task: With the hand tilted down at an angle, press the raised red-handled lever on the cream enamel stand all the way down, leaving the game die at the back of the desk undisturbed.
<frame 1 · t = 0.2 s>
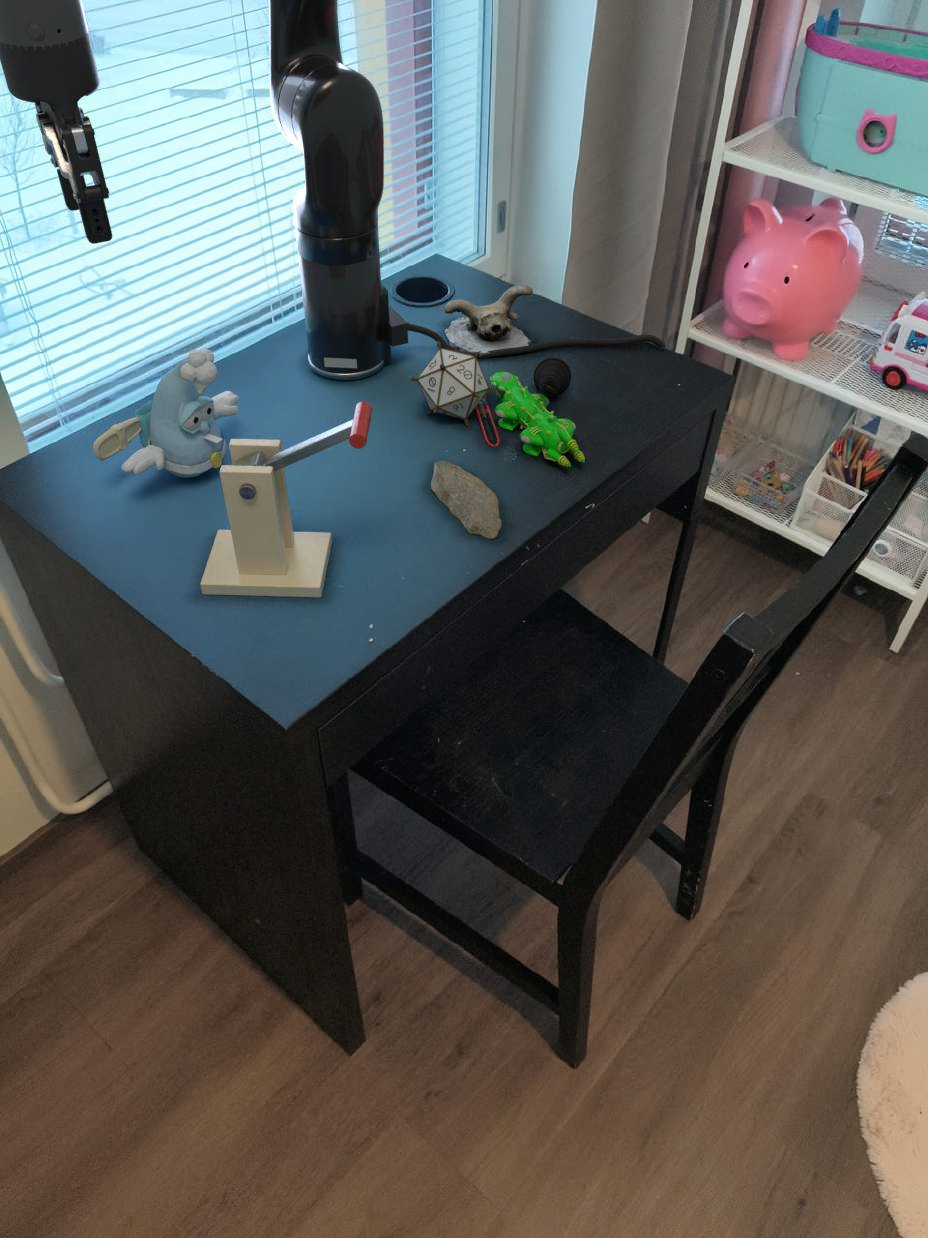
hand: (89, 223, 94), 24 cm above the table, tool pointing down, fingers open, 8 cm apart
game die: (452, 416, 114), on the table
red paper clip: (483, 407, 114), point 1 cm above the table
stone: (444, 499, 101), point 1 cm above the table
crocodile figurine: (533, 435, 111), on the table, touching chess piece
lever: (302, 450, 85), point 13 cm above the table, hinge at 28.0°
toy figure: (195, 472, 106), on the table
chess piece: (552, 376, 117), point 2 cm above the table, touching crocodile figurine
lever stand: (269, 567, 94), on the table
skull: (484, 340, 127), on the table
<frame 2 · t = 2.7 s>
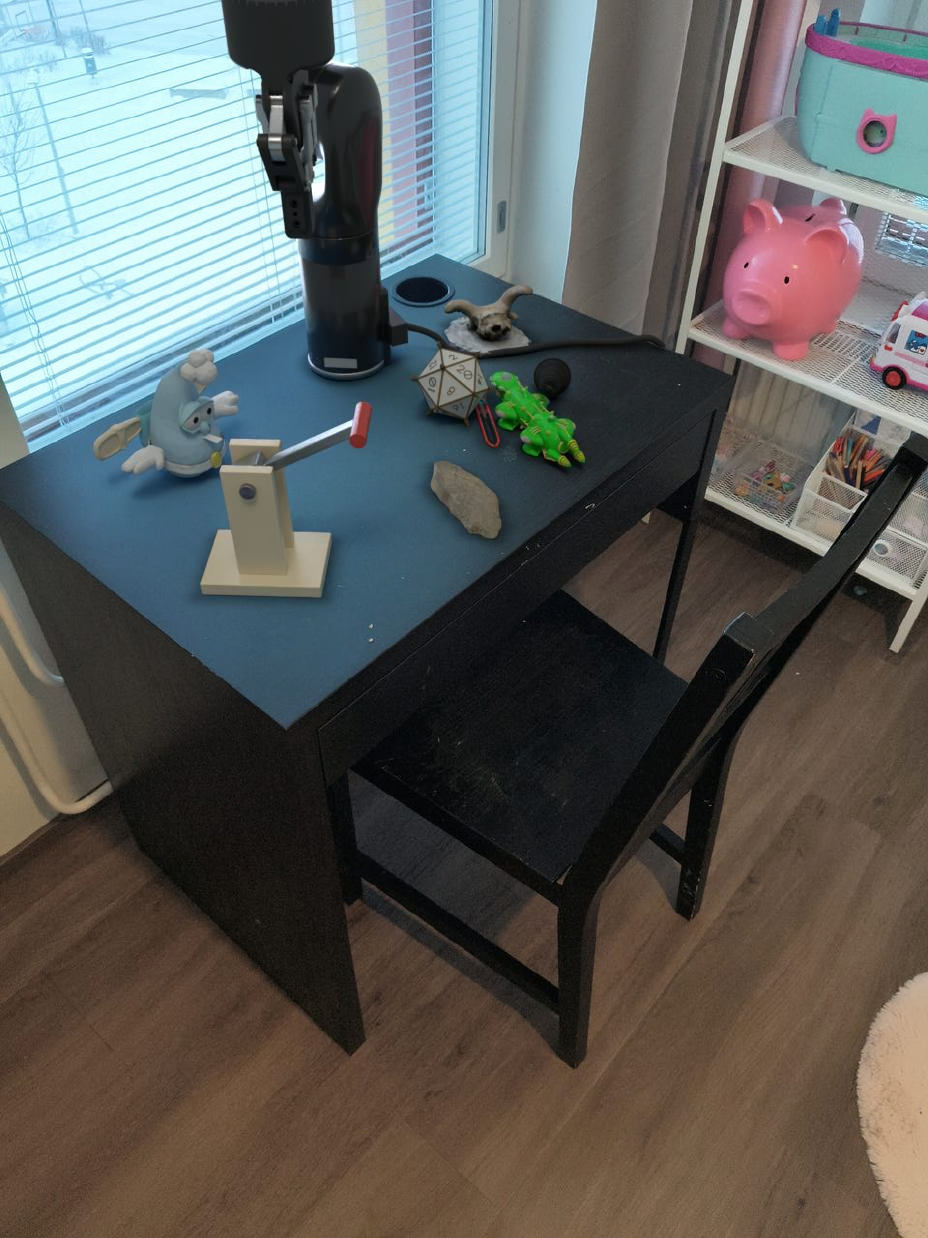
hand: (300, 234, 80), 29 cm above the table, tool pointing down, fingers closed
nothing on the table moved.
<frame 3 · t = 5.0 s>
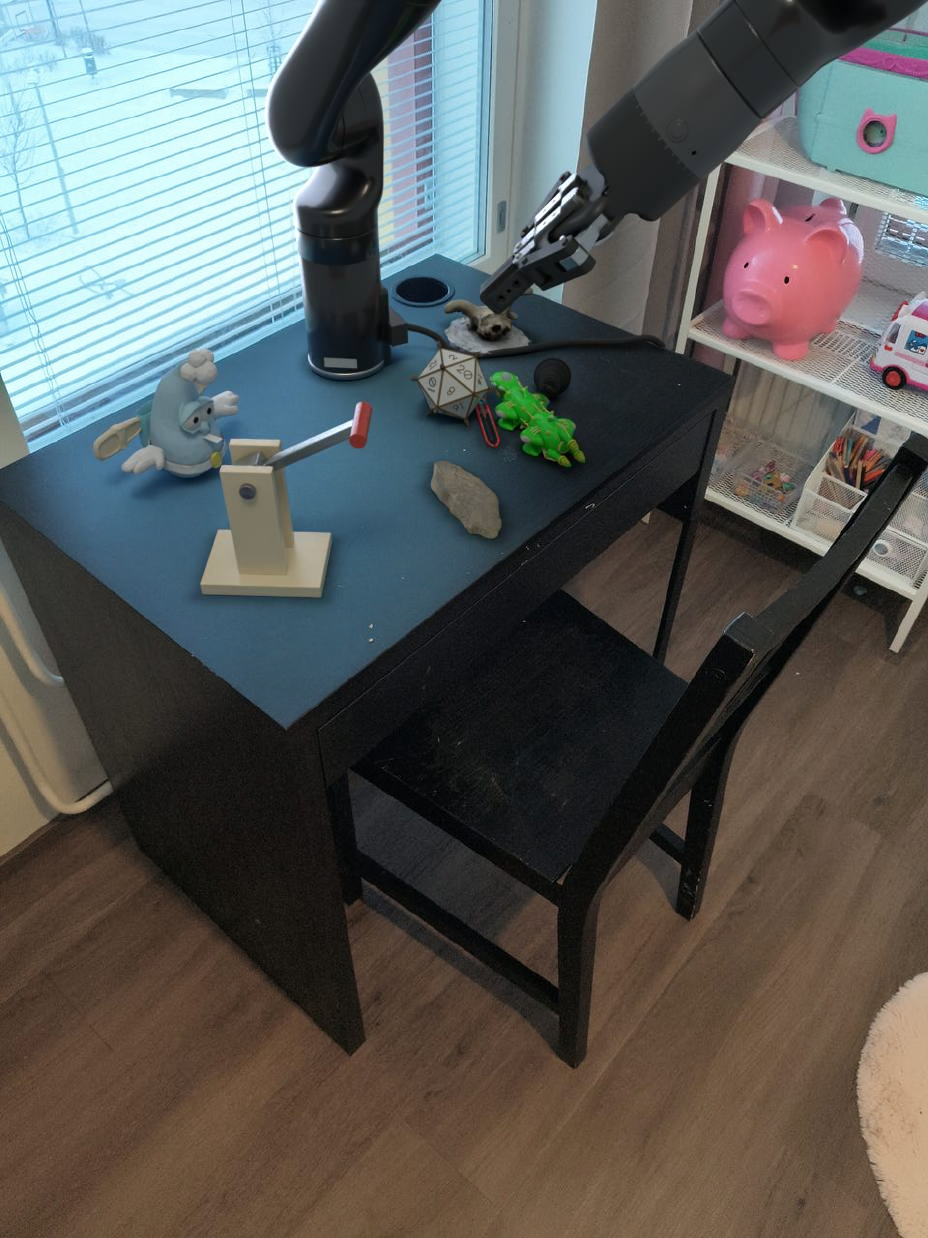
hand: (488, 301, 75), 28 cm above the table, tool tilted 45°, fingers closed
nothing on the table moved.
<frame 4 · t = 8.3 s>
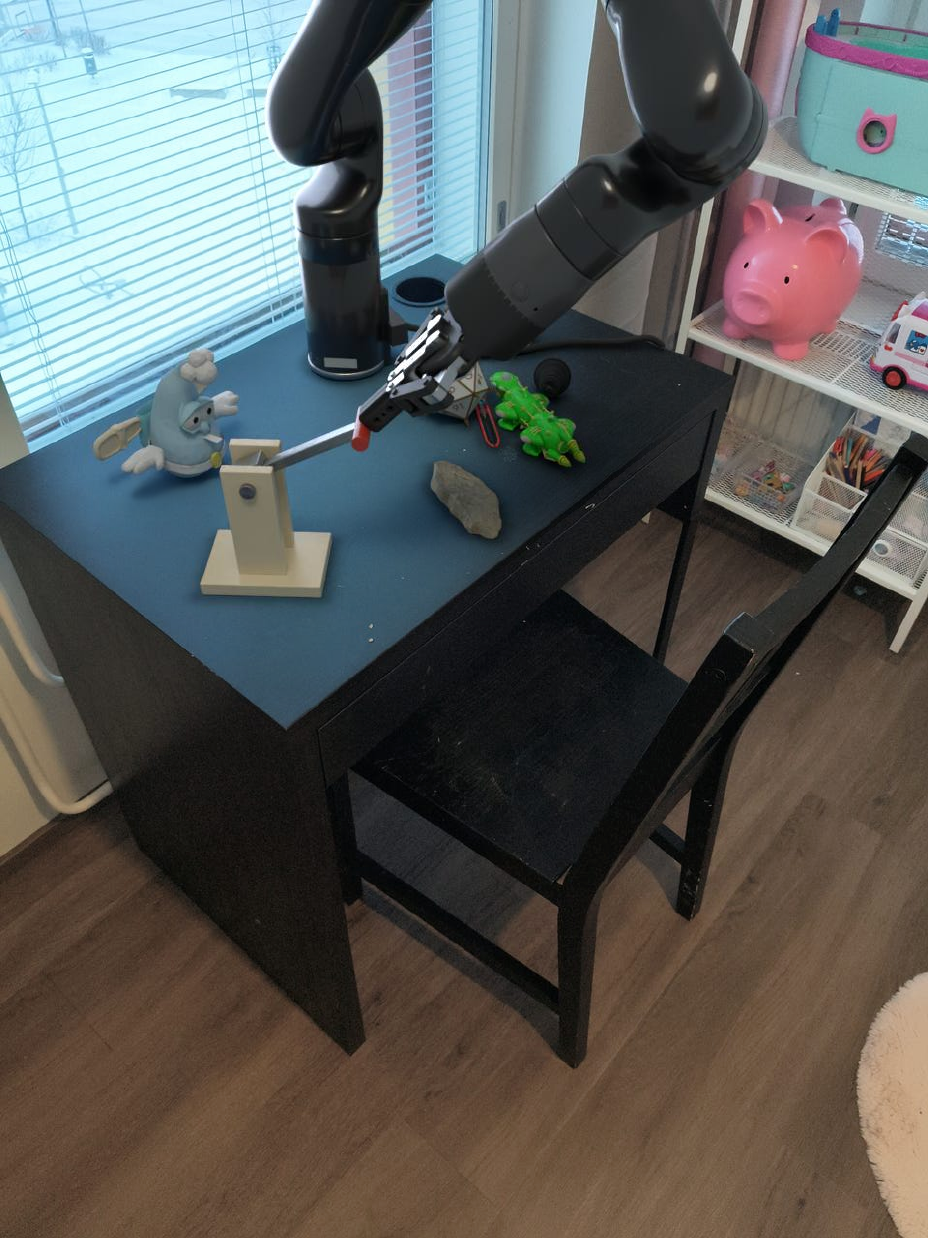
hand: (367, 421, 83), 17 cm above the table, tool tilted 45°, fingers closed
lever: (303, 451, 85), point 13 cm above the table, hinge at 26.3°, touching gripper
everything else where it was.
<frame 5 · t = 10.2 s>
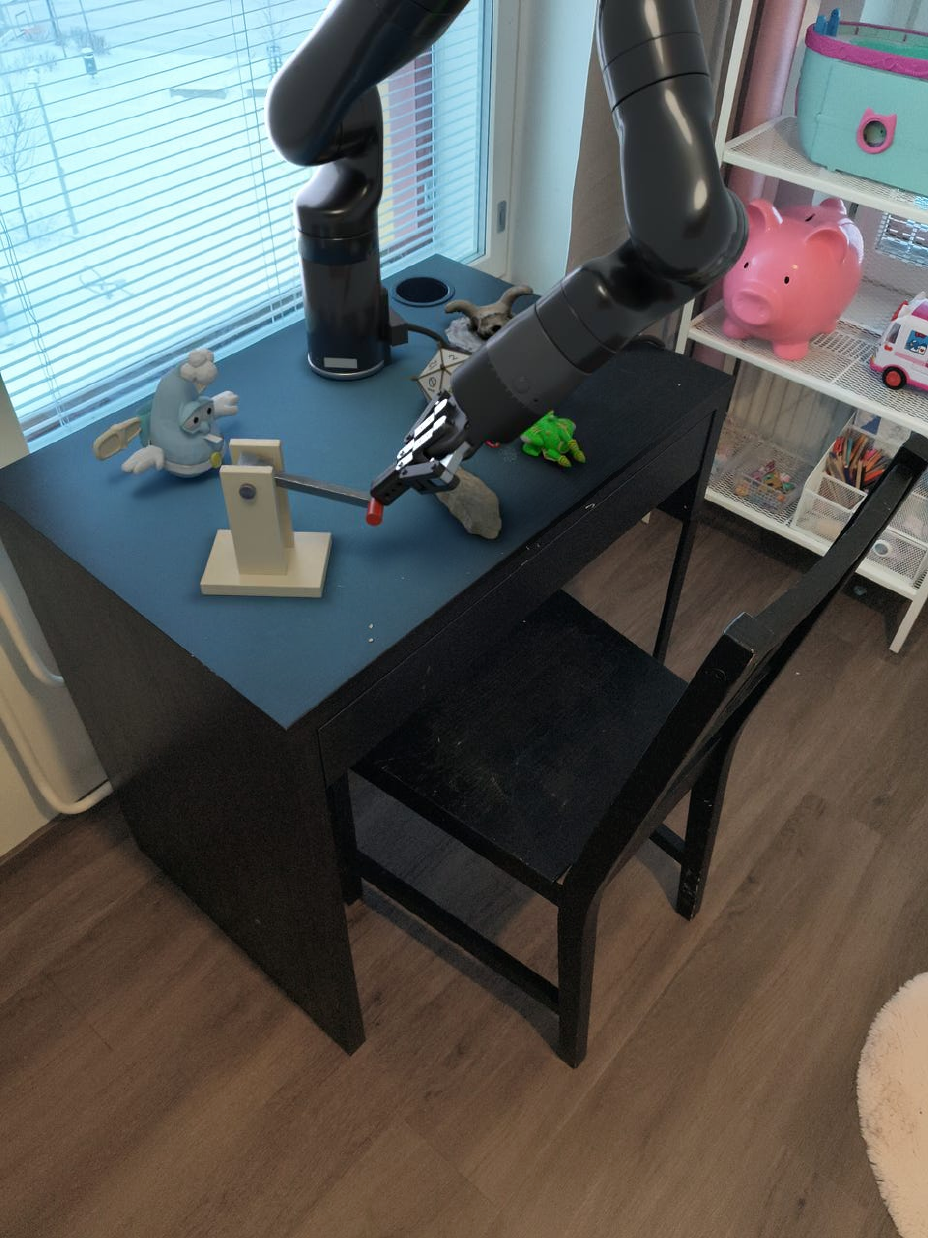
hand: (377, 495, 88), 9 cm above the table, tool tilted 45°, fingers closed
lever: (311, 486, 88), point 10 cm above the table, hinge at -15.4°, touching gripper
everything else where it was.
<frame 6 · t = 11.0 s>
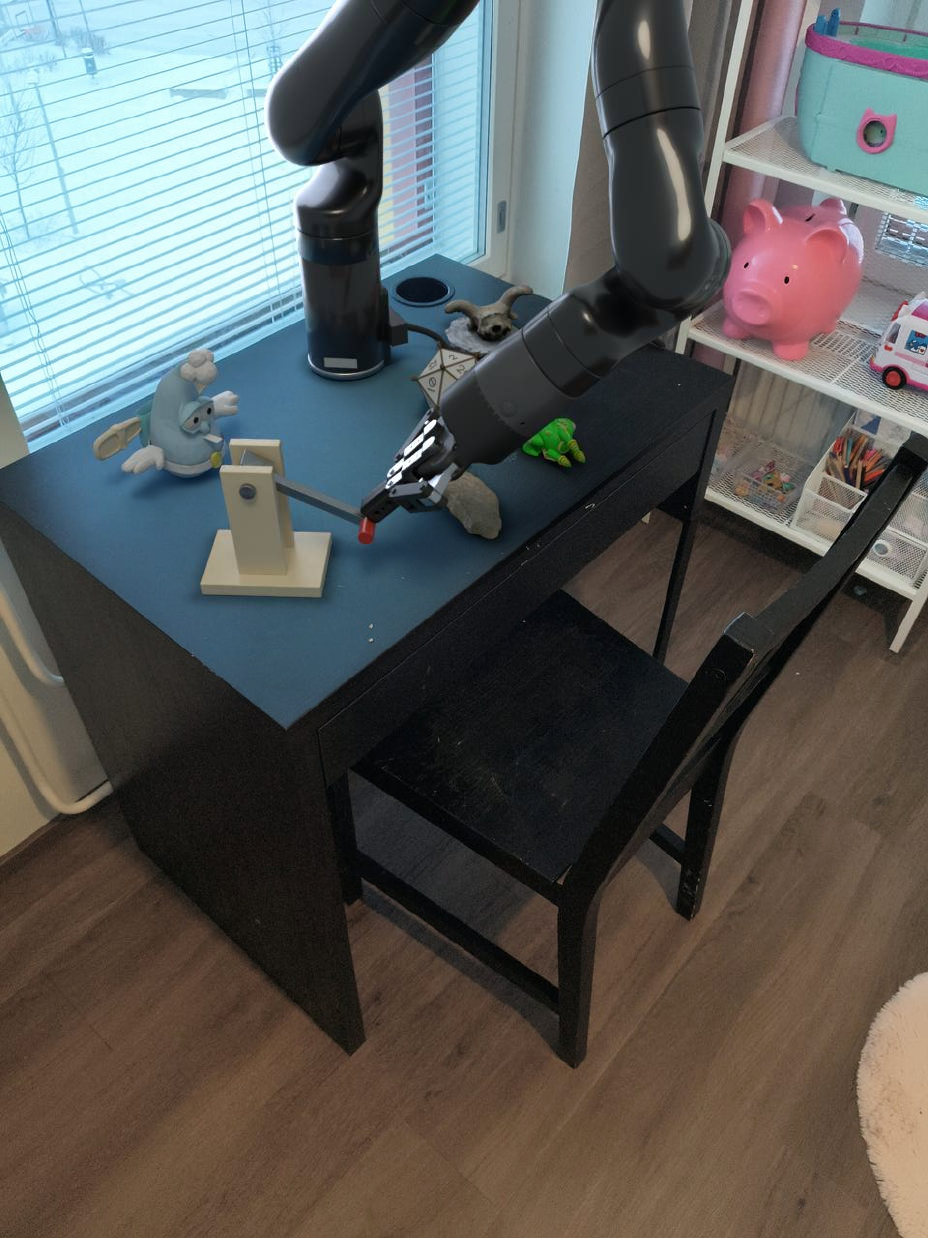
hand: (368, 512, 89), 7 cm above the table, tool tilted 45°, fingers closed
lever: (308, 495, 88), point 9 cm above the table, hinge at -27.3°, touching gripper
everything else where it was.
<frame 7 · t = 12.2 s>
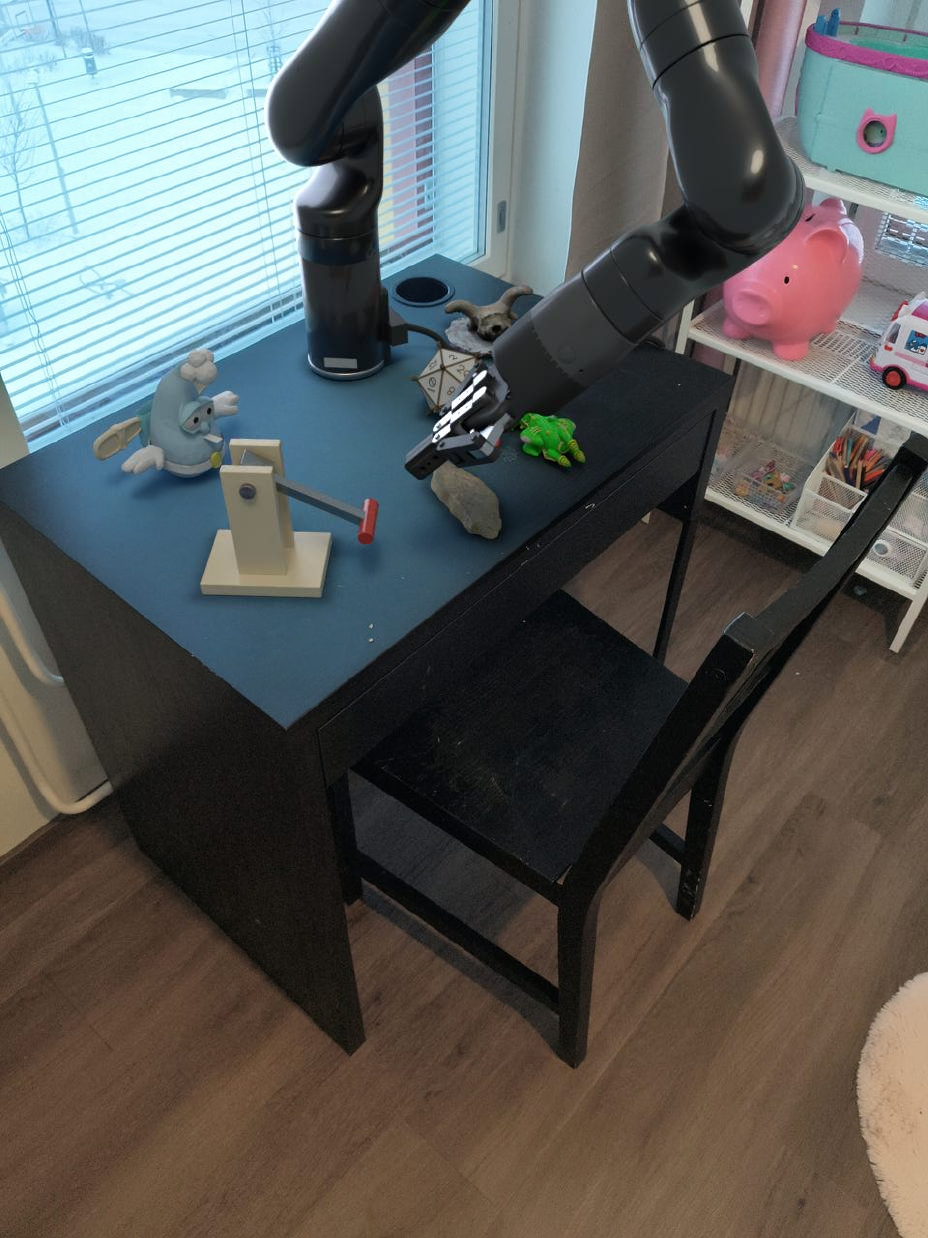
hand: (412, 469, 86), 12 cm above the table, tool tilted 45°, fingers closed
lever: (308, 495, 88), point 9 cm above the table, hinge at -27.4°
everything else where it was.
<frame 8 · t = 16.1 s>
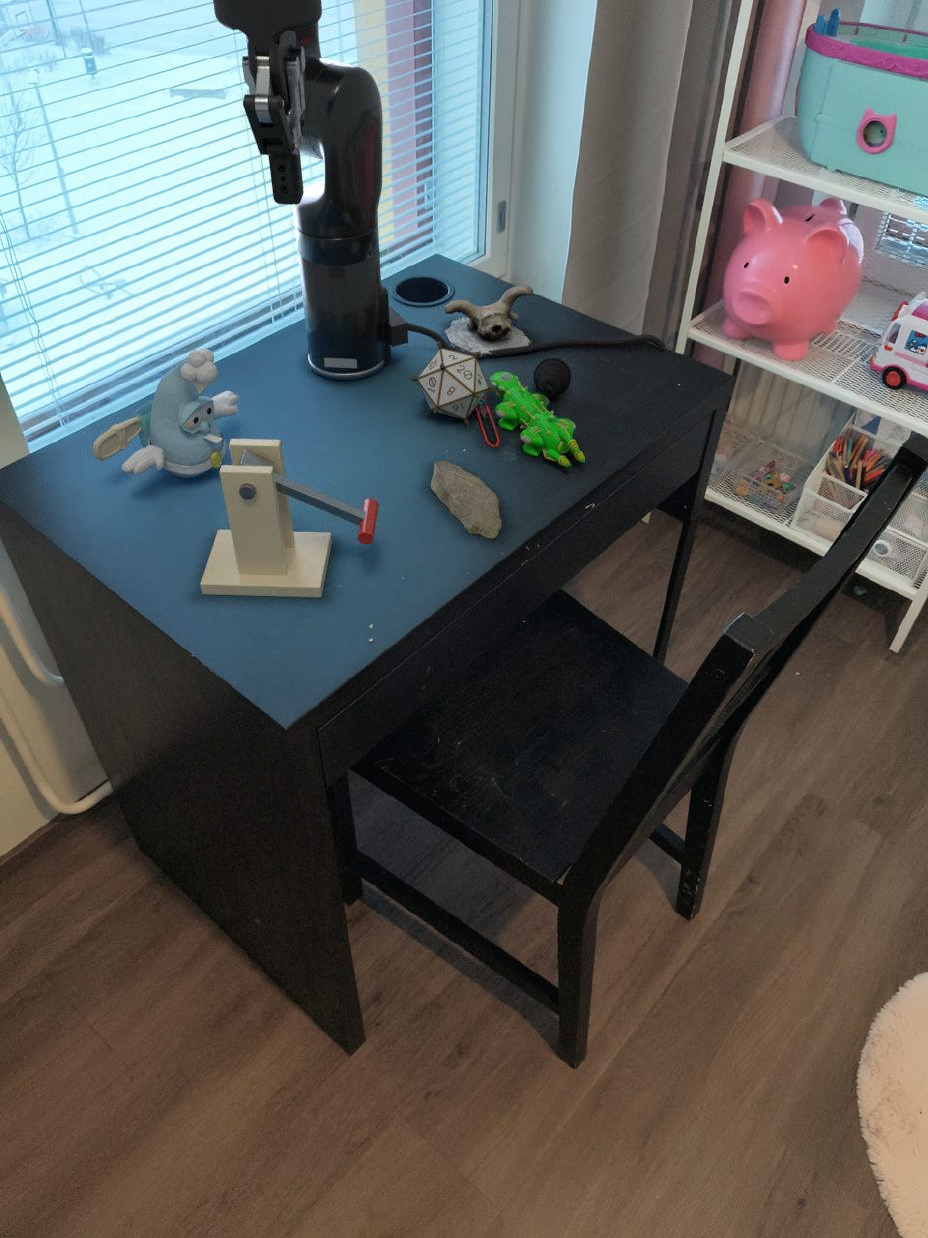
hand: (289, 200, 79), 31 cm above the table, tool pointing down, fingers closed
nothing on the table moved.
at the end: lever at -27° (first picture: +28°); game die moved 0.2 cm from its start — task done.
